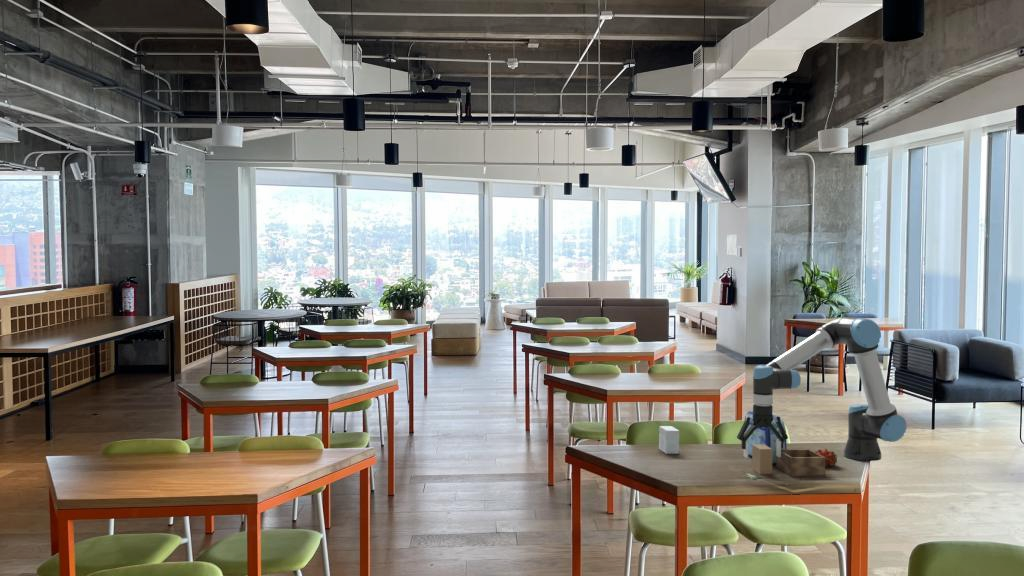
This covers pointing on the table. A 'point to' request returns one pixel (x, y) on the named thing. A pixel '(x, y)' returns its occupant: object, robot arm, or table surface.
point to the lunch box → (765, 437)
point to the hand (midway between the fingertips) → (762, 456)
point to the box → (801, 462)
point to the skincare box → (669, 439)
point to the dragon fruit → (828, 457)
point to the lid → (761, 460)
